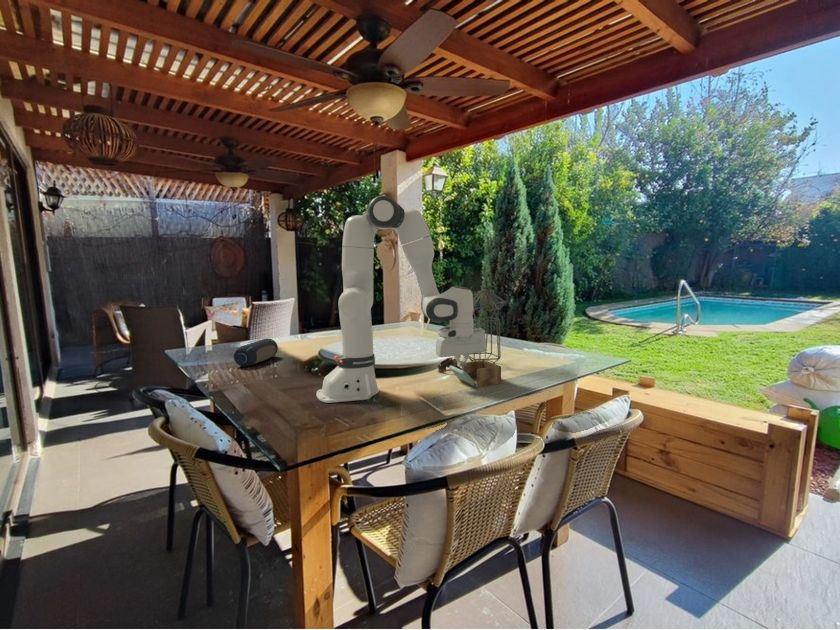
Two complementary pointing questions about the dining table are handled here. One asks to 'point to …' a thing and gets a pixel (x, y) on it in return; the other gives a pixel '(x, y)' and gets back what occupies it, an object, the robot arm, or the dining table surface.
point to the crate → (483, 372)
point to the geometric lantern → (489, 294)
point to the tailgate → (463, 376)
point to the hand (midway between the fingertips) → (461, 366)
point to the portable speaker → (255, 352)
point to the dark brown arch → (447, 364)
